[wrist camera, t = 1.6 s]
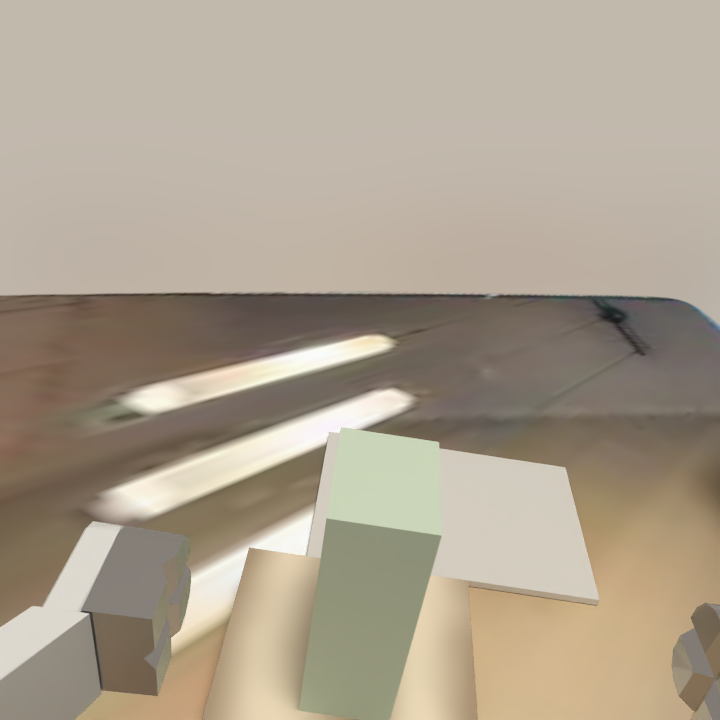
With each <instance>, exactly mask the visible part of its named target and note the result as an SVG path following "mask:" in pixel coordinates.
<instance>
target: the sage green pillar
mask: <svg viewBox="0 0 720 720" xmlns="http://www.w3.org/2000/svg"><path fill="white" fill-rule="evenodd" d="M441 537H442V527H441V493H440V460H439V442H434V441H428V440H421V439H414V438H408V437H401V436H394V435H388V434H381V433H375V432H368V431H361V430H355V429H348V428H341V431H340V437H339V443H338V450H337V456H336V462H335V468H334V474H333V481H332V487H331V493H330V499H329V505H328V512H327V518H326V525H325V532H324V538H323V545H322V552H321V559H320V566H319V573H318V580H317V587H316V594H315V600H314V607H313V614H312V621H311V628H310V635H309V642H308V649H307V656H306V663H305V669H304V676H303V683H302V690H301V697H300V704H299V711H304V712H311V713H318V714H325V715H331V716H338V717H345V718H351V719H358V720H390V718H391V714H392V711H393V707H394V704H395V700H396V697H397V693H398V689H399V686H400V682H401V679H402V675H403V672H404V668H405V665H406V661H407V657H408V654H409V650H410V647H411V643H412V640H413V636H414V633H415V629H416V625H417V622H418V618H419V615H420V611H421V608H422V604H423V601H424V597H425V593H426V590H427V586H428V583H429V579H430V576H431V572H432V569H433V565H434V561H435V558H436V554H437V551H438V547H439V544H440V540H441Z"/></svg>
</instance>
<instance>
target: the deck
mask: <svg viewBox="0 0 720 720" xmlns="http://www.w3.org/2000/svg"><path fill="white" fill-rule="evenodd" d="M320 559H321V558H314V557H308V556H301V555H294V554H288V553H281V552H274V551H268V550H261V549H254V548H249V551H248V555H247V558H246V562H245V565H244V569H243V573H242V576H241V580H240V584H239V587H238V591H237V594H236V598H235V602H234V605H233V609H232V613H231V616H230V620H229V623H228V627H227V631H226V634H225V638H224V642H223V645H222V649H221V652H220V656H219V660H218V663H217V667H216V671H215V674H214V678H213V681H212V685H211V689H210V692H209V696H208V700H207V703H206V707H205V710H204V714H203V718H202V720H358V719H351V718H345V717H338V716H331V715H325V714H318V713H311V712H304V711H299V704H300V697H301V690H302V683H303V676H304V669H305V663H306V656H307V649H308V642H309V635H310V628H311V621H312V614H313V607H314V600H315V594H316V587H317V580H318V573H319V566H320ZM390 720H478V717H477V702H476V687H475V673H474V658H473V643H472V628H471V614H470V599H469V584H468V580H461V579H454V578H448V577H441V576H434V575H431V576H430V579H429V583H428V586H427V590H426V593H425V597H424V601H423V604H422V608H421V611H420V615H419V618H418V622H417V625H416V629H415V633H414V636H413V640H412V643H411V647H410V650H409V654H408V657H407V661H406V665H405V668H404V672H403V675H402V679H401V682H400V686H399V689H398V693H397V697H396V700H395V704H394V707H393V711H392V714H391V718H390Z"/></svg>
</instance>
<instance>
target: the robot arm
mask: <svg viewBox="0 0 720 720" xmlns="http://www.w3.org/2000/svg"><path fill="white" fill-rule="evenodd" d="M189 553H190V542H189V536H186V535H181V534H174V533H168V532H162V531H156V530H149V529H143V528H137V527H130V526H122V525H115V524H109V523H102V522H95V521H93V522H92V523H91V524H90V525H89V526H88V527H87V528H86V529H85V530H84V532H83V534H82V536H81V537H80V539H79V541H78V543H77V545H76V546H75V548H74V550H73V552H72V554H71V555H70V557H69V559H68V561H67V563H66V565H65V566H64V568H63V570H62V572H61V574H60V575H59V577H58V579H57V581H56V583H55V584H54V586H53V588H52V590H51V592H50V594H49V595H48V597H47V599H46V601H45V603H44V604H43V606H42V607H39V606H31V607H30V608H28V609H27V610H25V611H24V612H22V613H21V614H19V615H18V616H16V617H15V618H13V619H12V620H10V621H9V622H7V623H6V624H4V625H3V626H1V627H0V720H75V719H76V718H77V717H78V716H79V715H80V714H81V713H82V712H83V711H84V710H85V709H86V708H87V707H88V706H89V705H90V704H92V703H93V702H94V701H95V700H96V699H97V698H98V697H99V696H100V695H101V690H103V691H113V692H122V693H132V694H142V695H152V696H158V694H159V691H160V688H161V685H162V682H163V680H164V677H165V674H166V671H167V668H168V665H169V662H170V659H171V637H172V636H174V635H175V634H176V633H177V632H179V631H180V629H181V626H182V623H183V619H184V616H185V613H186V608H187V604H188V599H189V594H190V583H191V571H190V569H189V568H188V567H187V566H186V562H187V559H188V556H189ZM691 619H692V622H693V624H694V627H695V628H694V629H692V630H690V631H688V632H686V633H684V634H682V635H680V637H679V639H678V641H677V643H676V645H675V647H674V649H673V658H672V672H673V679H674V683H675V686H676V689H677V692H678V695H679V697H680V698H681V699H682V700H683V701H684V702H685V703H686V704H687V705H688V706H689V707H690V708H691V709H692V710H693V711H694V712H693V714H692V717H691V719H690V720H720V605H716V604H708V603H704V604H702V605H701V606H699V607H697V608H696V610H695V612H694V613H693V615H692V617H691Z"/></svg>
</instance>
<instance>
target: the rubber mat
mask: <svg viewBox="0 0 720 720" xmlns="http://www.w3.org/2000/svg"><path fill="white" fill-rule="evenodd" d="M339 437H340V433H333V432H329V436H328V441H327V447H326V452H325V458H324V463H323V469H322V474H321V480H320V485H319V491H318V496H317V502H316V507H315V512H314V518H313V523H312V529H311V534H310V540H309V545H308V551H307V556H308V557H314V558H321V552H322V545H323V538H324V532H325V525H326V518H327V512H328V505H329V499H330V493H331V487H332V481H333V474H334V468H335V462H336V456H337V450H338V443H339ZM439 460H440V493H441V527H442V537H441V540H440V544H439V547H438V551H437V554H436V558H435V561H434V565H433V569H432V572H431V575H434V576H441V577H448V578H454V579H461V580H468V584H469V586H471V587H478V588H485V589H491V590H498V591H505V592H511V593H518V594H525V595H531V596H538V597H545V598H551V599H558V600H565V601H571V602H578V603H585V604H591V605H597V604H598V602H599V596H598V593H597V589H596V585H595V581H594V577H593V573H592V569H591V565H590V562H589V558H588V554H587V550H586V546H585V542H584V538H583V534H582V531H581V527H580V523H579V519H578V515H577V511H576V507H575V504H574V500H573V496H572V492H571V488H570V484H569V480H568V476H567V473H566V469H565V467H558V466H552V465H545V464H539V463H532V462H525V461H519V460H512V459H505V458H499V457H492V456H486V455H479V454H472V453H466V452H459V451H452V450H446V449H439Z"/></svg>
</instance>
